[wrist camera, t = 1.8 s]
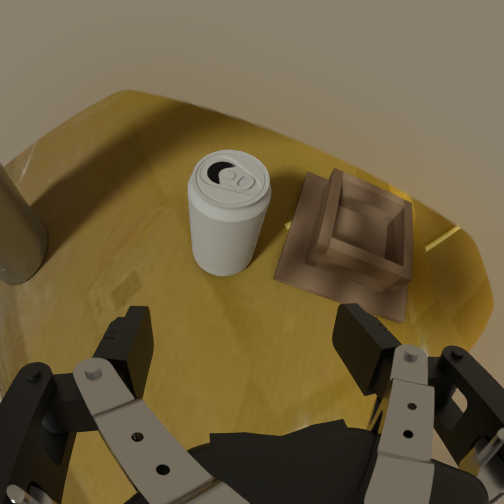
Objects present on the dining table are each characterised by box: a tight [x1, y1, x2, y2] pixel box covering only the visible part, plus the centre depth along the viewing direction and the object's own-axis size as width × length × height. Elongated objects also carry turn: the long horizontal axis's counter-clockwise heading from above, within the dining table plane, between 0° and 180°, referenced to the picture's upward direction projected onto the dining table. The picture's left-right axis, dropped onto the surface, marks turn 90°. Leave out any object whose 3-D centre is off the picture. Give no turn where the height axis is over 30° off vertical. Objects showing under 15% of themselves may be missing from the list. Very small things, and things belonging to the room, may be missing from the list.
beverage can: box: [188, 150, 271, 276], centre depth 25 cm, size 6×6×12 cm
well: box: [273, 168, 413, 323], centre depth 31 cm, size 16×16×5 cm
